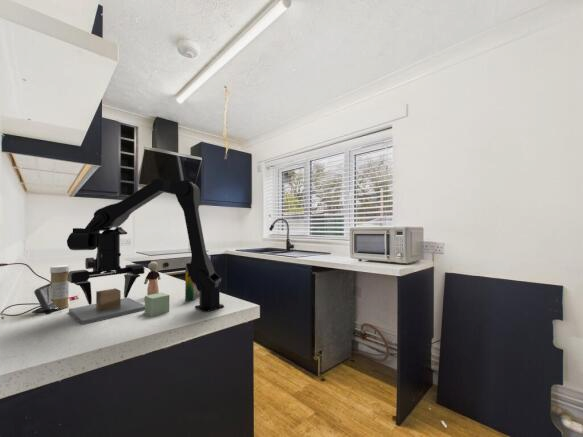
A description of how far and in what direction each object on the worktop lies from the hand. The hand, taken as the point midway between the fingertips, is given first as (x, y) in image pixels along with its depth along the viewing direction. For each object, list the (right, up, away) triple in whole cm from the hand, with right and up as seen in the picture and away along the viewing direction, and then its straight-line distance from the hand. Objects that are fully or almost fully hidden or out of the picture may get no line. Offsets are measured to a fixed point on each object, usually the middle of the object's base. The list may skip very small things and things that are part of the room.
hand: (108, 300), depth 81 cm
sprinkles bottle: (-18, -4, +3) cm, 19 cm away
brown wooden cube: (0, -2, 0) cm, 2 cm away
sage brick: (+16, -3, -2) cm, 16 cm away
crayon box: (+21, -3, +14) cm, 25 cm away
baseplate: (0, -3, 0) cm, 3 cm away
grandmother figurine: (+5, -4, +17) cm, 18 cm away
